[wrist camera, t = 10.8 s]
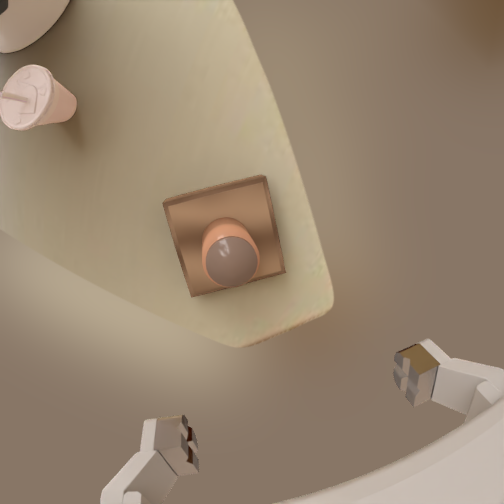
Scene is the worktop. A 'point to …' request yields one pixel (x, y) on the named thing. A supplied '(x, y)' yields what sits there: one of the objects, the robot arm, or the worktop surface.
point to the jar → (229, 253)
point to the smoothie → (35, 99)
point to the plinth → (218, 206)
